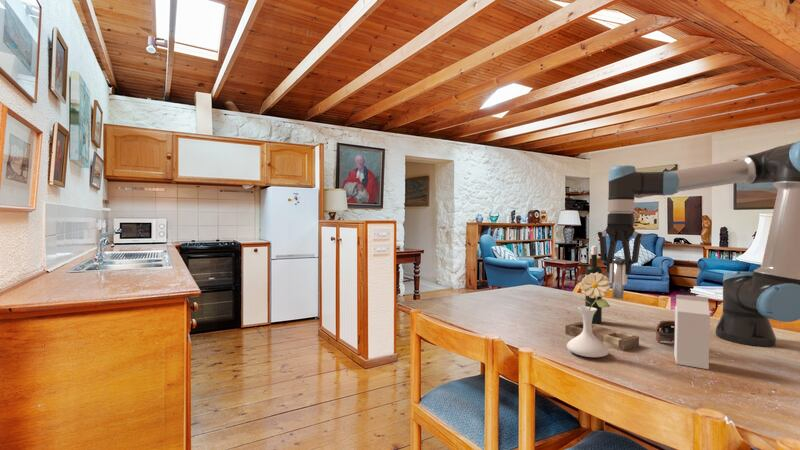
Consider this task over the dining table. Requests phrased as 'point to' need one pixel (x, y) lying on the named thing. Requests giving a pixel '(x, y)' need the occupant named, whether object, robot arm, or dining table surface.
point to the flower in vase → (591, 317)
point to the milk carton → (692, 331)
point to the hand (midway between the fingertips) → (618, 283)
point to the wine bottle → (598, 314)
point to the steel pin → (617, 278)
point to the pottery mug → (665, 331)
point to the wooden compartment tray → (606, 336)
